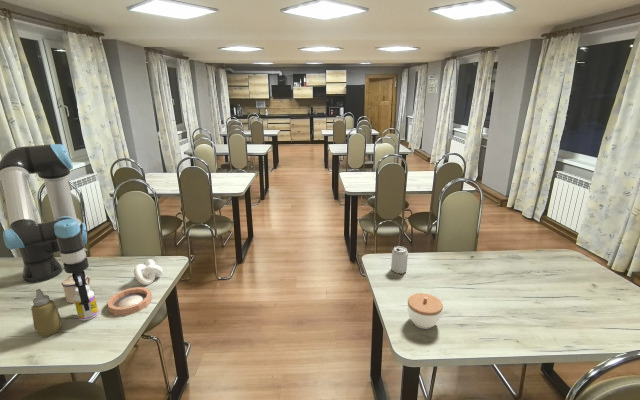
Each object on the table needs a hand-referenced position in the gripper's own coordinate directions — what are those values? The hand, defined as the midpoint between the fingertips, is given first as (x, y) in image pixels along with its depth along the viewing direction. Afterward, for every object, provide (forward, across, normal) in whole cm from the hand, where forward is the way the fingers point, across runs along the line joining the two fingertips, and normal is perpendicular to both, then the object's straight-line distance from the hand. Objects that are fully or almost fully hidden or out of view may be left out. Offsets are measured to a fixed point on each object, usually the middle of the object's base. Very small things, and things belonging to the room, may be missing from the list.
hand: (87, 311), depth 137 cm
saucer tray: (+2, -1, -15) cm, 15 cm away
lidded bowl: (+2, -85, -101) cm, 132 cm away
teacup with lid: (+2, +19, +1) cm, 19 cm away
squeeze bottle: (+2, -2, +12) cm, 13 cm away
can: (+2, -53, -125) cm, 136 cm away
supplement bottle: (+2, 0, 0) cm, 2 cm away
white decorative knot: (+2, +14, -25) cm, 29 cm away
